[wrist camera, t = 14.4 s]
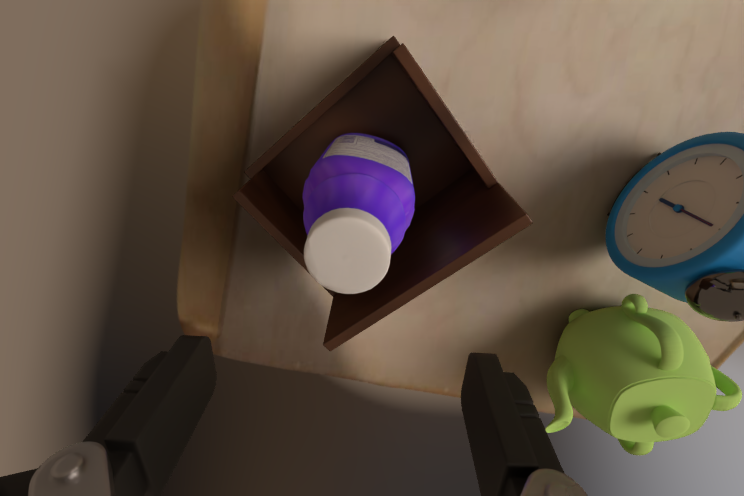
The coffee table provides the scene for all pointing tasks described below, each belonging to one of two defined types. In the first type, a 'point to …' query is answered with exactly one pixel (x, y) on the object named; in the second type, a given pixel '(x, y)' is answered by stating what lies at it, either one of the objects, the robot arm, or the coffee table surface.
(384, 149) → the bottle
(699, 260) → the alarm clock
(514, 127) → the coffee table surface
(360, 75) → the box
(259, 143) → the coffee table surface
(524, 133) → the coffee table surface
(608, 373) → the teapot
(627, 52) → the coffee table surface
